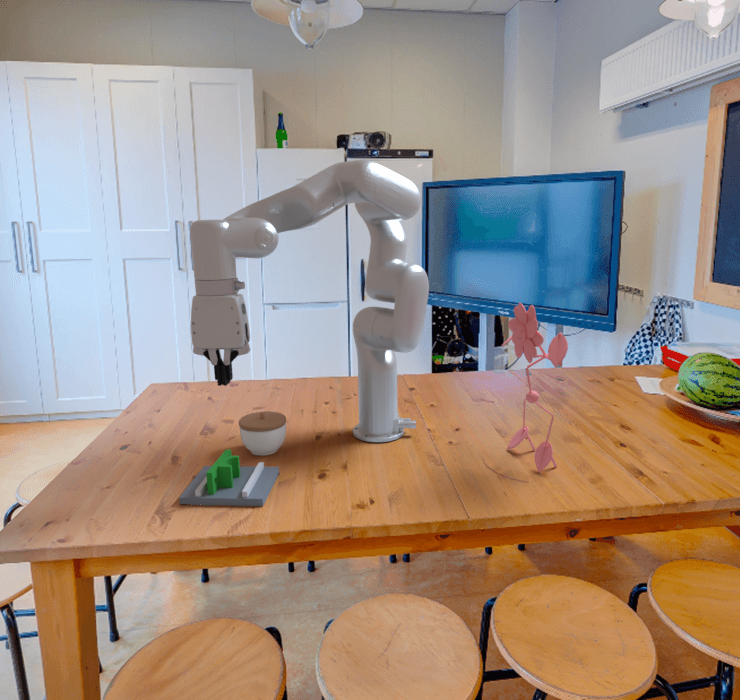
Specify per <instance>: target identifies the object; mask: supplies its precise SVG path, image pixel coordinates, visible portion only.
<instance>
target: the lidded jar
mask: <svg viewBox="0 0 740 700" xmlns="http://www.w3.org/2000/svg"><path fill="white" fill-rule="evenodd" d="M238 426H239V434H240V438H241V441H242V443H243V446H245V448H246V449H247V450H248V451H250V452H251V454H252V455H254V456H263V457H264V456H270V455H273V454H275V453H276V452H278V450H279V449H280V447H281V446H282V445H283V443H284V441H285V438H286V434H287V417H286V415H285V414H284V413H281V412H278V411H258V412H257V411H255V412H252V413H248V414H246V415H244V416H241V417H240V419H239V420H238Z"/></svg>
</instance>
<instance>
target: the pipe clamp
mask: <svg viewBox="0 0 740 700" xmlns="http://www.w3.org/2000/svg"><path fill="white" fill-rule="evenodd" d="M211 466H212V467H211V468H210V469H209V470H208V472H207V473H206V476H207V487H208V495H214V494H215V492H216V491H217V490H218V488H219V487H220V488H232V487H233V478H239V477H240V455H233V454H232V449H227V448H225V449H224V451H223V452H222V453H221V455H220V456H219V457H218V458H217V460H215V462H214V463H213V465H211Z"/></svg>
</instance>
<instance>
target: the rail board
mask: <svg viewBox="0 0 740 700" xmlns="http://www.w3.org/2000/svg"><path fill="white" fill-rule="evenodd" d="M212 466H213V465H204V466H203V467H202V468H201V470H200V471H199V472H198V473H197V475H196V476H195V477H194V478H193V479H192V481H191V482H190V483H189V485H188V486H187V487H186V488H185V490H184V491H183V492H182V493H181V494H180V496H179V497H178V500H179V501H178V502H179V505H180V504H187V505H186V506H215V505H221V506H220V507H224V505H225V506H226V505H227V506H226V507H228V506H229V507H231V506H232V507H233V506H234V507H264V505H265V503H266V501H267V499H268V497H269V496H270V493H271V491H272V490H273V489H272V488H273V487H274V485H275V482H276V480H277V479H278V476H279V474H280V469H279V468H280V467H279V466H265V462H264V461H262V462H261V461H259V462H258V463H257V465H256V466H254V465H253V466H249V465H248V466H243V465H242V466H240V477H239V478H233V487H232V488H220V487H219V488H218V490H217V491H216V492H215V494H214V495H208V487H207V476H206V473H207V472H208V470H209V469H210V468H211V467H212ZM188 504H190V505H188ZM191 504H192V505H191ZM195 504H196V505H195ZM197 504H198V505H197ZM200 504H201V505H200ZM222 505H223V506H222Z"/></svg>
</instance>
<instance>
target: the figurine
mask: <svg viewBox="0 0 740 700" xmlns="http://www.w3.org/2000/svg"><path fill="white" fill-rule="evenodd" d="M513 313H514V317H515V318H514V317H513V318H511V319H509V321H508V324H507V326H508V328H509V330H510V331H511V332H512V335H511V336H510V337H508V338H507V340H505V341H504V342H503V343H502V344H501V347H504V346H505V345H506V344H508V343H509V342H510V341H511V342H512V344H514V346H513V347H514V354H515V356H516V358H518V359H520V358H521V357H522V354H524V357H525V360H526V361H527V362H528V365H527V366H526V368H525V372H526V378H527V384H528V388H529V391H528V392H527V393H526V395H525V398H524V399H523V415H522V416H523V417H522V419H523V420H522V421H523V422H522V423H523V424H522V427H521V428H519V429H518V431H516V432H515V434H514V435H513V436H512V437H511V440H510V441H509V443H508V446H507V447H506V450H512V449H514V448H516V447H517V446H519V445H520V444H521V443H522V442H523V441H524V440H525V439H526V438H527V441H528V442H529V444H530V446H531V448H532V450H533V452H534V463H535V467H536V469H537V471H538V473H541V472H542V471H544V470H545V468H546V467H547V466H549V464H550V463H551V462H552V464H553V467H554V468H557V467H558V465H557V463H556V460H555V459H554V456H553V453H554V452H553V445H552V443H550V442H549V438H550V434H551V431H552V426H553V422H554V419H555V415H554V414H553V413H551V411H549V410H548V409H547V408H545V407H544V406H543V405H541V404H540V403H539V402H538V401H539V398H540V396H539V394H538V392H537V391H536V390H532V386H531V385H532V383H531V379H530V378H531V377H530V371H529V368H531V367H533V366H535V365H536V364H538V363H540V362H541V361H543V360H544V359H546V360H549V361H550V363H551V364H552V365H553V366H554V367H555V368H557V367H558V366H560V367H562V366H563V361H564V359H565V358H566V355H567V353H568V349H569V343H568V341H567V337H566V336H565V335H563V334H564V333H562V332H558V333H557V335H555V336H554V337H553V338H552V339H551V341H550V342H549V344H548V349H547V352H545V350H544V349H543V347H542V345H543V343H544V336H543V334H542V333H541V332H540V331H538V327H539V323H538V320H537V313H536V308H535V306H534V305H533V304H531V305H529V307H528V309H527V310H526V307H525V306H524V305H523V303H521V302H518V305H516V306H515V307H513ZM537 347H538V348H539V349H540V352H541V354H538V351H537V350H538V349H537ZM536 358H538V359H536ZM533 359H536V360H534V361H533ZM526 401H527V402H528V403H529V404H536V405H537V406H539V408H541V409H542V410H543V411H545V412H546V413H548V414H549V415H550V416H551V419H550V424H549V428H548V431H547V436H546V439H545V441H543V442H541V443H540V444H539V445H538V447H537V448H535V445H534V443H533V441H532V440H531V437H530V435H529V429H530V428H529V426H528V425H527V426H526ZM483 462H484V464H486V462H485V461H484V459H483ZM484 467H485V468H487V469H488V468H489V469H490V470H491V471H493V472H494V473H496V474H498V475H500V476H501V477H503V479H510V480H515V481H518V482H522V483H529V481H525V480H520V479H516V478H512V477H509V476H506V475H503V474H501V473H498V472H497V471H495V470H493V469H492V468H490V467H489V466H488V465H485V466H484Z"/></svg>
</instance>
